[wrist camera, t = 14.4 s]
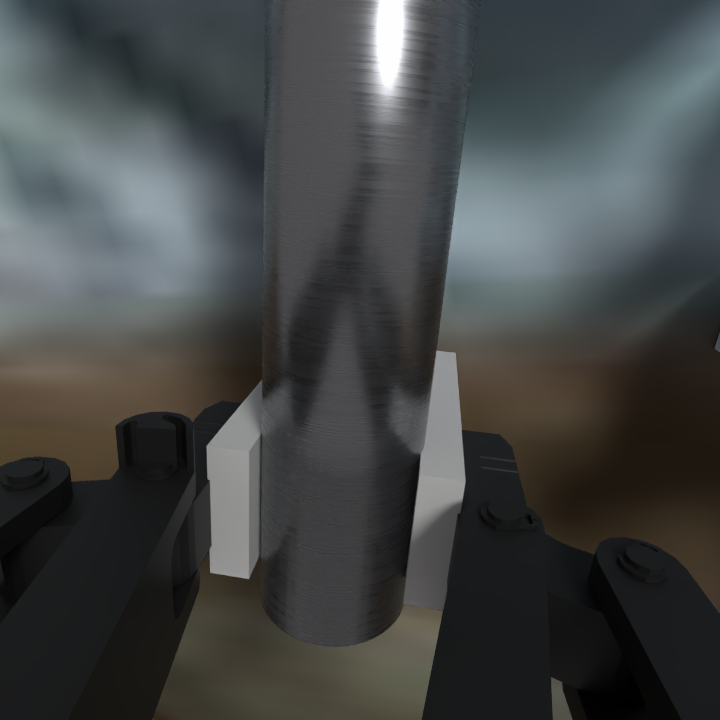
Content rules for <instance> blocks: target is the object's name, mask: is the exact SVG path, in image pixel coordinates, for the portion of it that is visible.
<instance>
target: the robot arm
mask: <svg viewBox="0 0 720 720" xmlns="http://www.w3.org/2000/svg"><path fill="white" fill-rule="evenodd" d="M115 427H116V438H117V449H118V460H119V469H118V470H117V471H116V473H115V474H114V475H113V477H112V478H111V479H109V480H97V481H77V482H71V475H70V468H69V467H68V465H67V464H66V463H65V462H64V461H61V460H58V459H56V458H47V457H33V458H31V457H28V458H22V459H20V460H18V461H14V462H10V463H7V464H5V465H3V466H0V720H152V718H153V715H154V713H155V710H156V707H157V704H158V702H159V699H160V696H161V693H162V690H163V688H164V685H165V682H166V679H167V677H168V674H169V671H170V668H171V666H172V663H173V660H174V657H175V654H176V652H177V649H178V646H179V643H180V641H181V638H182V635H183V632H184V630H185V627H186V624H187V621H188V618H189V616H190V613H191V610H192V607H193V605H194V602H195V599H196V596H197V594H198V591H199V583H200V573H199V566H200V564H201V562H202V561H203V559H204V558H205V556H206V554H207V553H208V551H209V549H210V573H214V574H221V575H227V576H233V577H239V578H245V579H249V578H250V575H251V573H252V571H253V569H254V567H255V565H256V562H257V560H258V558H259V556H260V539H261V435H262V380H261V381H260V382H259V384H258V385H257V386H256V387H255V388H254V390H253V391H252V392H251V393H250V394H249V396H248V397H247V398H246V399H245V400H244V402H243V403H242V404H241V403H233V402H225V401H221V402H219V403H217V404H214V405H212V406H210V407H208V408H206V409H204V410H203V411H202V412H201V413H200V414H199V415H198V416H197V418H196V419H195V421H194V422H192V421H191V419H190V418H188V417H186V416H184V415H181V414H178V413H172V412H149V413H144V414H139V415H135V416H132V417H130V418H127V419H125V420H123V421H122V422H120V423H119V424H118V425H116V426H115ZM403 604H406V605H413V606H419V607H425V608H431V609H437V610H443V614H442V620H441V625H440V630H439V635H438V640H437V645H436V650H435V655H434V660H433V665H432V670H431V675H430V680H429V686H428V691H427V696H426V701H425V706H424V711H423V716H422V720H553V717H552V694H551V677H553V678H555V679H557V680H559V681H562V685H563V692H564V695H565V698H566V701H567V704H568V707H569V710H570V713H571V716H572V719H573V720H720V614H719V612H718V611H717V610H716V608H715V607H714V606H713V604H712V603H711V602H710V600H709V599H708V597H707V596H706V595H705V593H704V592H703V591H702V589H701V588H700V587H699V585H698V584H697V583H696V581H695V580H694V578H693V577H692V576H691V574H690V573H689V572H688V570H687V569H686V568H685V567H684V566H683V565H682V564H681V563H680V562H679V561H678V560H677V559H676V558H675V557H673V556H671V555H670V554H668V553H667V552H665V551H664V550H662V549H660V548H659V547H657V546H654V545H652V544H649V543H647V542H644V541H641V540H636V539H631V538H626V537H620V538H609V539H607V540H604V541H602V542H600V543H599V545H598V547H597V549H596V551H595V555H594V554H591V553H588V552H585V551H582V550H579V549H576V548H573V547H571V546H568V545H566V544H563V543H561V542H559V541H557V540H555V539H553V538H552V537H550V536H548V535H547V534H545V528H544V525H543V523H542V520H541V518H540V517H539V516H538V515H537V514H536V513H535V512H534V511H533V510H532V509H531V508H529V507H527V504H526V500H525V497H524V493H523V489H522V485H521V481H520V477H519V473H518V469H517V465H516V462H515V457H514V453H513V449H512V446H511V445H510V444H509V443H508V442H507V441H506V440H505V439H504V438H503V437H502V436H501V435H498V434H491V433H483V432H475V431H467V430H462V429H461V416H460V404H459V391H458V378H457V365H456V353H452V352H443V351H436V359H435V367H434V374H433V382H432V390H431V398H430V406H429V414H428V422H427V430H426V437H425V445H424V449H423V451H422V453H421V457H420V465H419V473H418V480H417V488H416V496H415V504H414V512H413V520H412V528H411V536H410V544H409V552H408V560H407V568H406V576H405V588H404V600H403Z"/></svg>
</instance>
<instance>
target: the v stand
mask: <svg viewBox="0 0 720 720" xmlns="http://www.w3.org/2000/svg"><path fill="white" fill-rule="evenodd" d="M715 350H717V351H718V352H720V333H719V336H718V339H717V342H716V346H715Z"/></svg>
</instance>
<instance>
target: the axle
mask: <svg viewBox="0 0 720 720" xmlns="http://www.w3.org/2000/svg"><path fill="white" fill-rule="evenodd" d="M480 5H481V0H266V19H265V123H264V227H263V331H262V435H261V539H260V596H261V602H262V605H263V608H264V610H265V611H266V613H267V615H268V616H269V618H270V619H271V620H272V621H273V622H274V624H275V625H276V626H277V627H279V628H280V629H281V630H283V631H284V632H285V633H287V634H289V635H290V636H292V637H294V638H296V639H299V640H301V641H304V642H307V643H311V644H315V645H321V646H333V647H337V646H349V645H354V644H358V643H362V642H365V641H368V640H370V639H372V638H375V637H376V636H378V635H380V634H382V633H383V632H384V631H386V630H387V629H388V628H389V627H390V626H391V625H392V624H393V623H394V622H395V621H396V620H397V618H398V617H399V615H400V613H401V611H402V609H403V606H404V604H403V600H404V588H405V576H406V568H407V560H408V552H409V544H410V536H411V528H412V520H413V512H414V504H415V496H416V488H417V480H418V473H419V465H420V457H421V453H422V451H423V449H424V445H425V437H426V430H427V422H428V414H429V406H430V398H431V390H432V382H433V374H434V367H435V359H436V351H437V343H438V335H439V327H440V319H441V311H442V304H443V296H444V288H445V280H446V272H447V264H448V256H449V249H450V241H451V233H452V225H453V217H454V209H455V201H456V193H457V186H458V178H459V170H460V162H461V154H462V146H463V138H464V130H465V123H466V115H467V107H468V99H469V91H470V83H471V75H472V68H473V60H474V52H475V44H476V36H477V28H478V20H479V12H480Z"/></svg>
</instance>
